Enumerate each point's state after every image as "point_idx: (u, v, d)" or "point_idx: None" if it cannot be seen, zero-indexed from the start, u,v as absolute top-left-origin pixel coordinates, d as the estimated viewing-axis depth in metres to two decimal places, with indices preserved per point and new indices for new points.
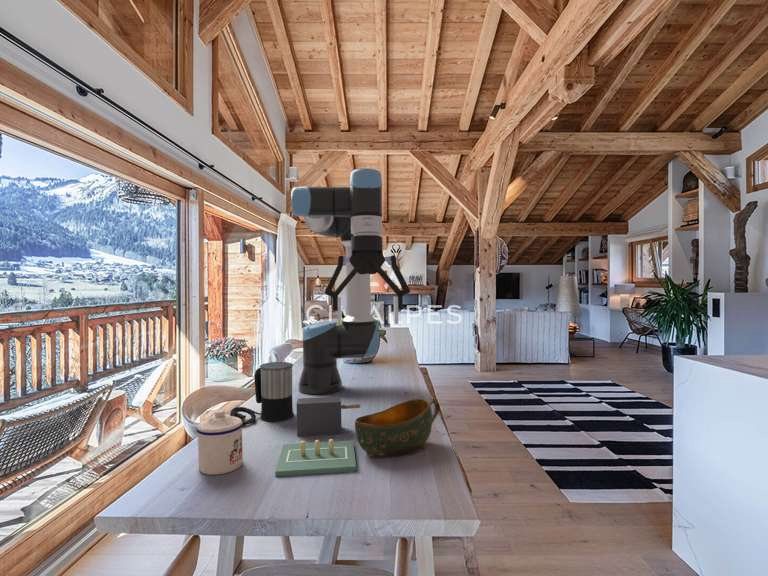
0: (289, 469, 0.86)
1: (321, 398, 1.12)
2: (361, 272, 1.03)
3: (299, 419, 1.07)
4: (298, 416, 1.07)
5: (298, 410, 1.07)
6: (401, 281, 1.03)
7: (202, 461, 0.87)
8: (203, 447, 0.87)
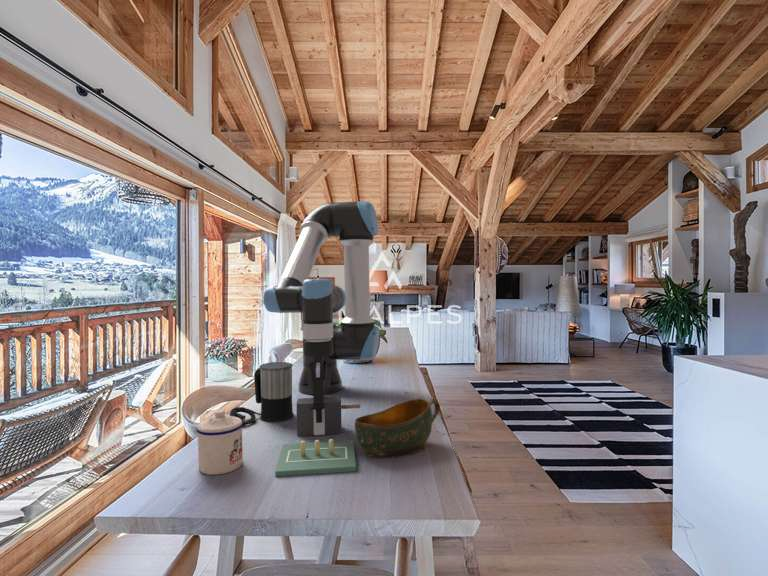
0: (289, 469, 0.86)
1: None
2: None
3: (299, 419, 1.07)
4: (298, 416, 1.07)
5: (298, 410, 1.07)
6: (313, 395, 1.05)
7: (202, 461, 0.87)
8: (203, 447, 0.87)
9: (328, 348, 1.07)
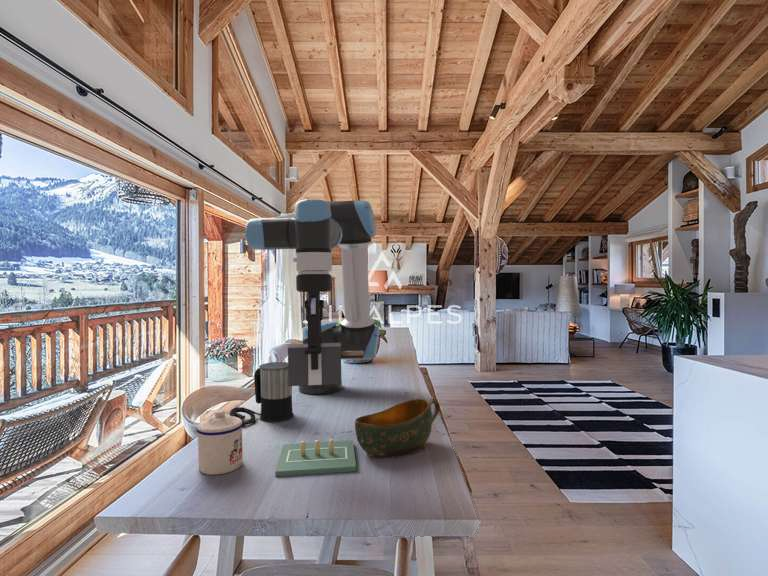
0: (289, 469, 0.86)
1: None
2: None
3: (291, 366, 0.90)
4: (290, 362, 0.90)
5: (290, 355, 0.90)
6: None
7: (202, 461, 0.87)
8: (203, 447, 0.87)
9: (325, 281, 0.90)
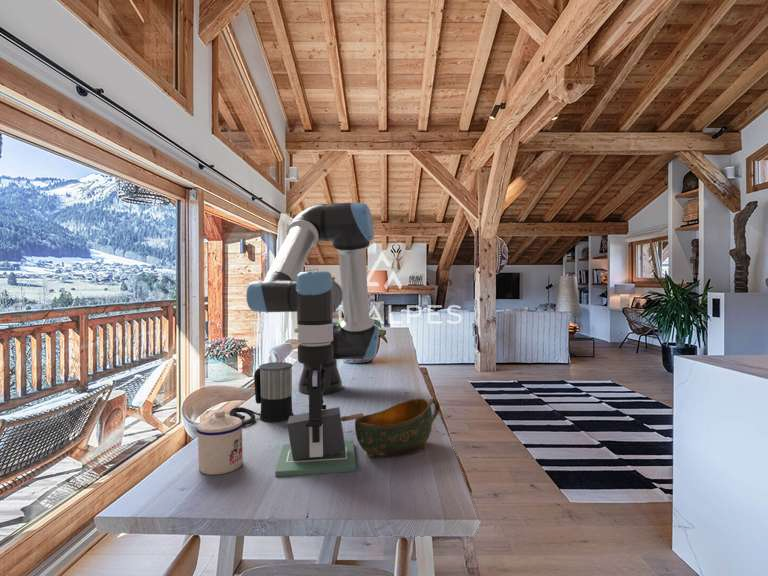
0: (289, 469, 0.86)
1: None
2: None
3: (293, 441, 0.90)
4: (291, 438, 0.90)
5: (290, 431, 0.90)
6: None
7: (202, 461, 0.87)
8: (203, 447, 0.87)
9: (326, 353, 0.90)
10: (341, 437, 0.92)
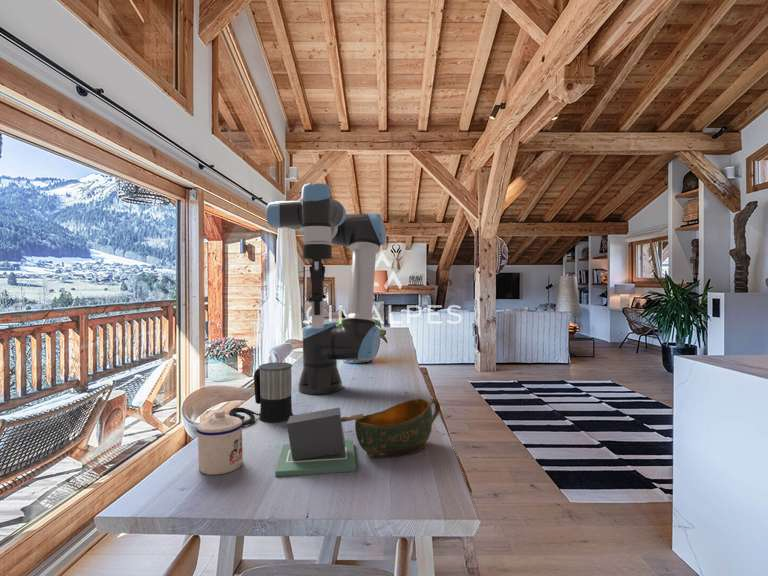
0: (289, 469, 0.86)
1: (316, 412, 0.95)
2: None
3: (292, 441, 0.90)
4: (291, 438, 0.90)
5: (290, 431, 0.90)
6: None
7: (202, 461, 0.87)
8: (203, 447, 0.87)
9: (326, 250, 1.11)
10: (341, 438, 0.91)
